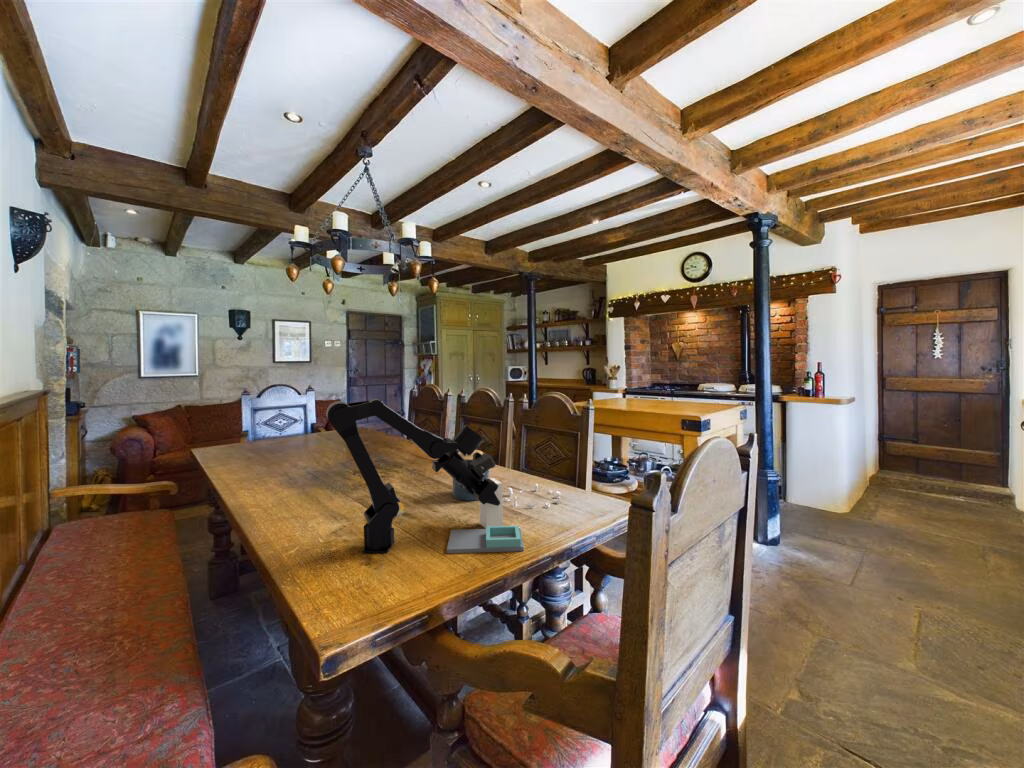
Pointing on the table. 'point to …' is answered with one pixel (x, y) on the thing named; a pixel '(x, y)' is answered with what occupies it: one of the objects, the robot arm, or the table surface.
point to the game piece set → (534, 500)
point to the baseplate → (485, 540)
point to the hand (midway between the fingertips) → (495, 501)
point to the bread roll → (400, 508)
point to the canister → (462, 493)
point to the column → (492, 509)
